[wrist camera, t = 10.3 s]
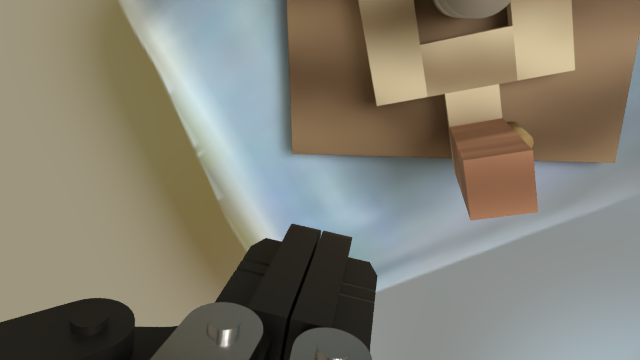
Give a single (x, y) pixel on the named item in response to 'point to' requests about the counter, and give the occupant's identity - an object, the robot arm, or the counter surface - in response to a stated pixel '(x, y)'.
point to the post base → (430, 112)
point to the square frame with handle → (473, 89)
